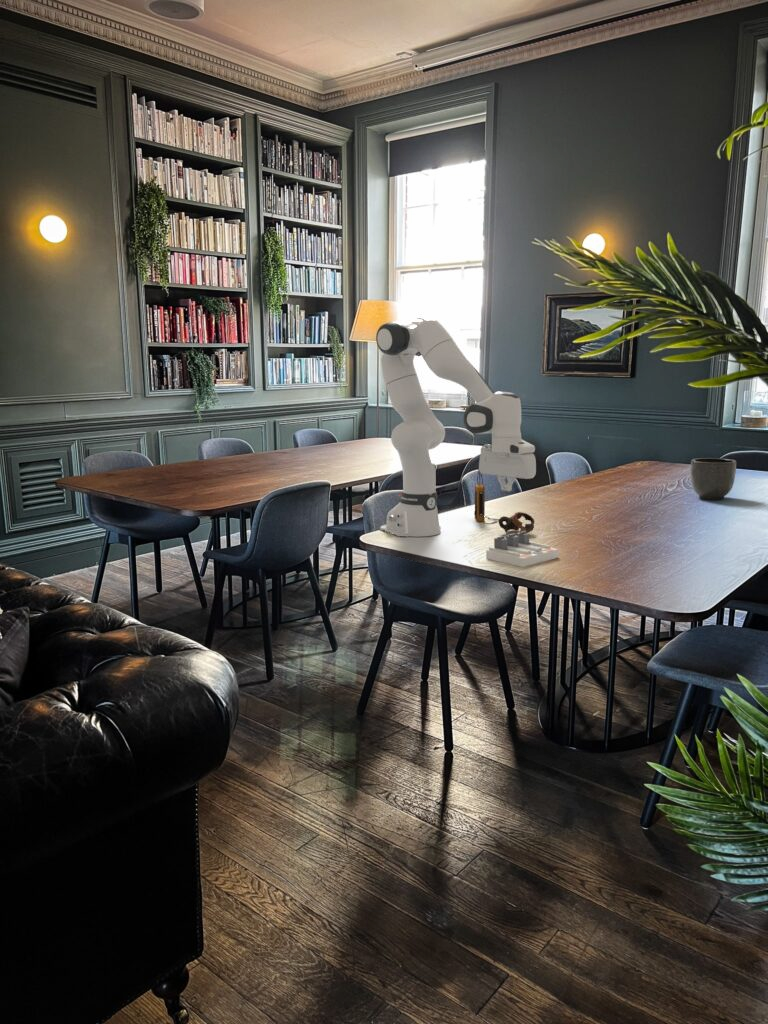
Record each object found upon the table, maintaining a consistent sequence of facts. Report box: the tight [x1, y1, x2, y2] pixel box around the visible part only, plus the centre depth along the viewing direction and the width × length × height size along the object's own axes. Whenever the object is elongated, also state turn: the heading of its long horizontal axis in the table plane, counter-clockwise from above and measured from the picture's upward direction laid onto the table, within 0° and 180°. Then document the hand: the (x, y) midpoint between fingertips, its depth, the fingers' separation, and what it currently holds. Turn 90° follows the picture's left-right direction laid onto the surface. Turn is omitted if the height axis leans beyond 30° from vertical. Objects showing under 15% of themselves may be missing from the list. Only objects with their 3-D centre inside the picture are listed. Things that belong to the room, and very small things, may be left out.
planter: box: [690, 457, 737, 501], centre depth 318 cm, size 17×17×16 cm
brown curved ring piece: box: [497, 511, 535, 534], centre depth 260 cm, size 12×10×8 cm
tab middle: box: [505, 532, 519, 547], centre depth 229 cm, size 3×2×4 cm
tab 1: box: [493, 535, 508, 550], centre depth 226 cm, size 3×2×4 cm
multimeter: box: [473, 465, 500, 525], centre depth 281 cm, size 15×10×20 cm
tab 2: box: [516, 531, 530, 545], centre depth 233 cm, size 3×2×4 cm
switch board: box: [485, 540, 559, 568], centre depth 227 cm, size 14×16×3 cm
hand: (506, 490), depth 235 cm, fingers closed
